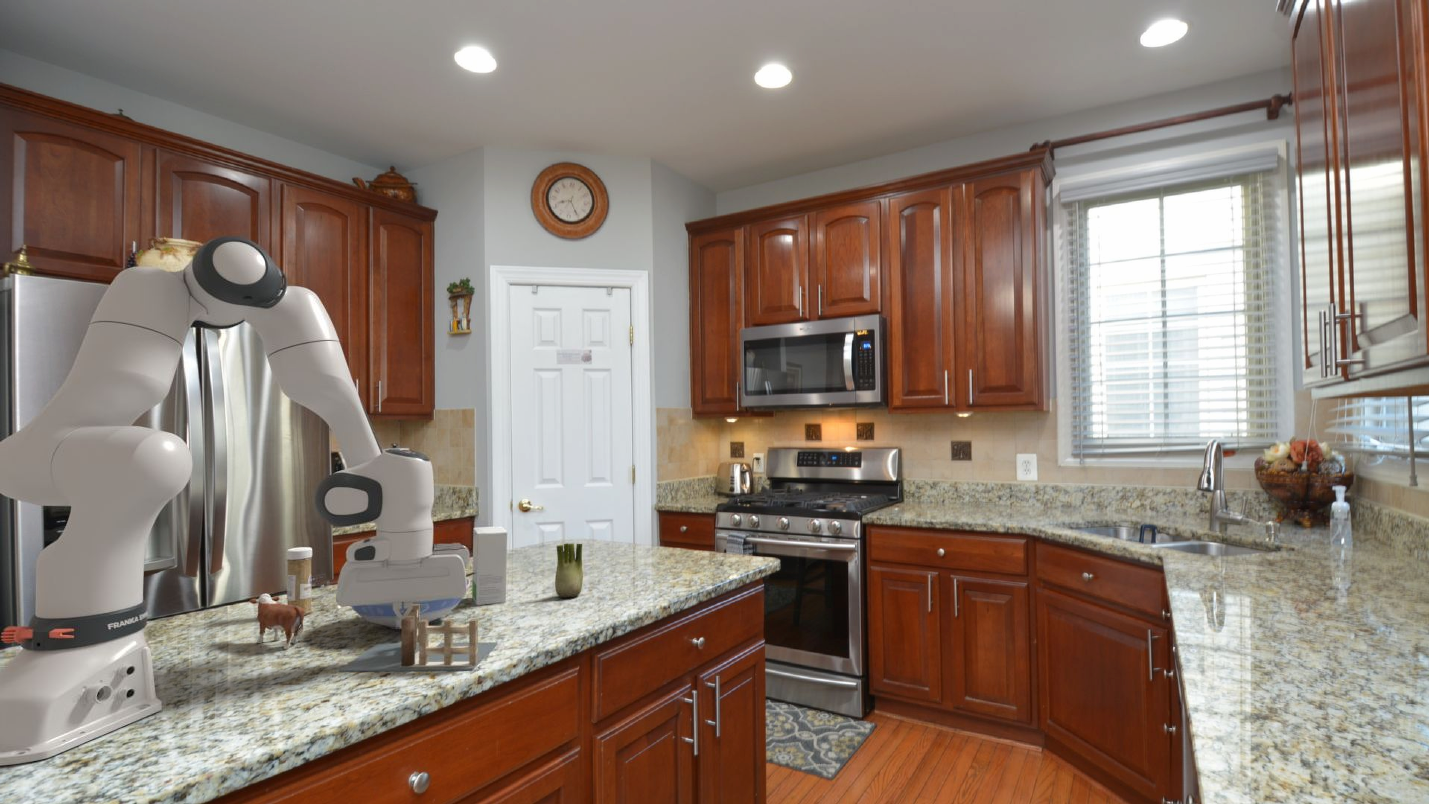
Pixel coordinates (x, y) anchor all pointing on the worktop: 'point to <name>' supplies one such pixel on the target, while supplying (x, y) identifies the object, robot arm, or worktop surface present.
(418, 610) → the gate panel
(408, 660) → the corner post
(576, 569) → the fennel bulb
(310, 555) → the spice jar
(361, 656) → the card
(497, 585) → the skincare box
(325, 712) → the worktop surface
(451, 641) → the fixed fence panel
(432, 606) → the ramen bowl
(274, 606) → the bull figurine
